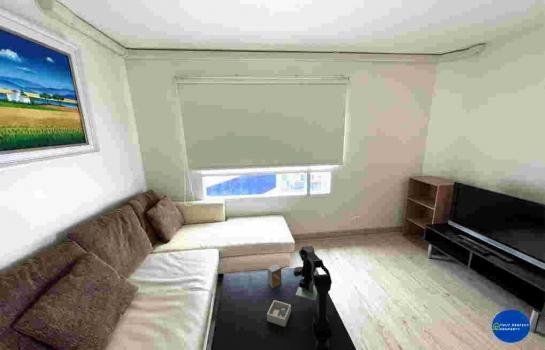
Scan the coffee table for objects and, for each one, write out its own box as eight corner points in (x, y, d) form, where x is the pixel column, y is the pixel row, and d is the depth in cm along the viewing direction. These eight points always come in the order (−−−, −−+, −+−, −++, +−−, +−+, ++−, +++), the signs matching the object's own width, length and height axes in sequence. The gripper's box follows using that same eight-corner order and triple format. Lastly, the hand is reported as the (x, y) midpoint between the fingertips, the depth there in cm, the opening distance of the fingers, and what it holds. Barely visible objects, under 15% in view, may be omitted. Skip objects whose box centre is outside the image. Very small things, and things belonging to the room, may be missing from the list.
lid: (315, 302, 125) (315, 293, 124) (295, 297, 129) (295, 288, 128) (319, 288, 136) (319, 280, 135) (300, 284, 140) (300, 276, 139)
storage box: (285, 327, 120) (284, 319, 119) (267, 321, 124) (266, 313, 123) (290, 311, 130) (290, 304, 129) (274, 306, 134) (274, 300, 133)
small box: (272, 288, 150) (271, 272, 147) (267, 283, 155) (267, 267, 153) (281, 283, 154) (281, 267, 152) (276, 279, 160) (276, 263, 157)
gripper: (298, 255, 140) (299, 276, 143) (290, 272, 124) (290, 295, 127) (315, 258, 136) (315, 280, 139) (309, 276, 119) (309, 300, 122)
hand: (307, 288), depth 132 cm, fingers closed on lid, 2 cm apart
